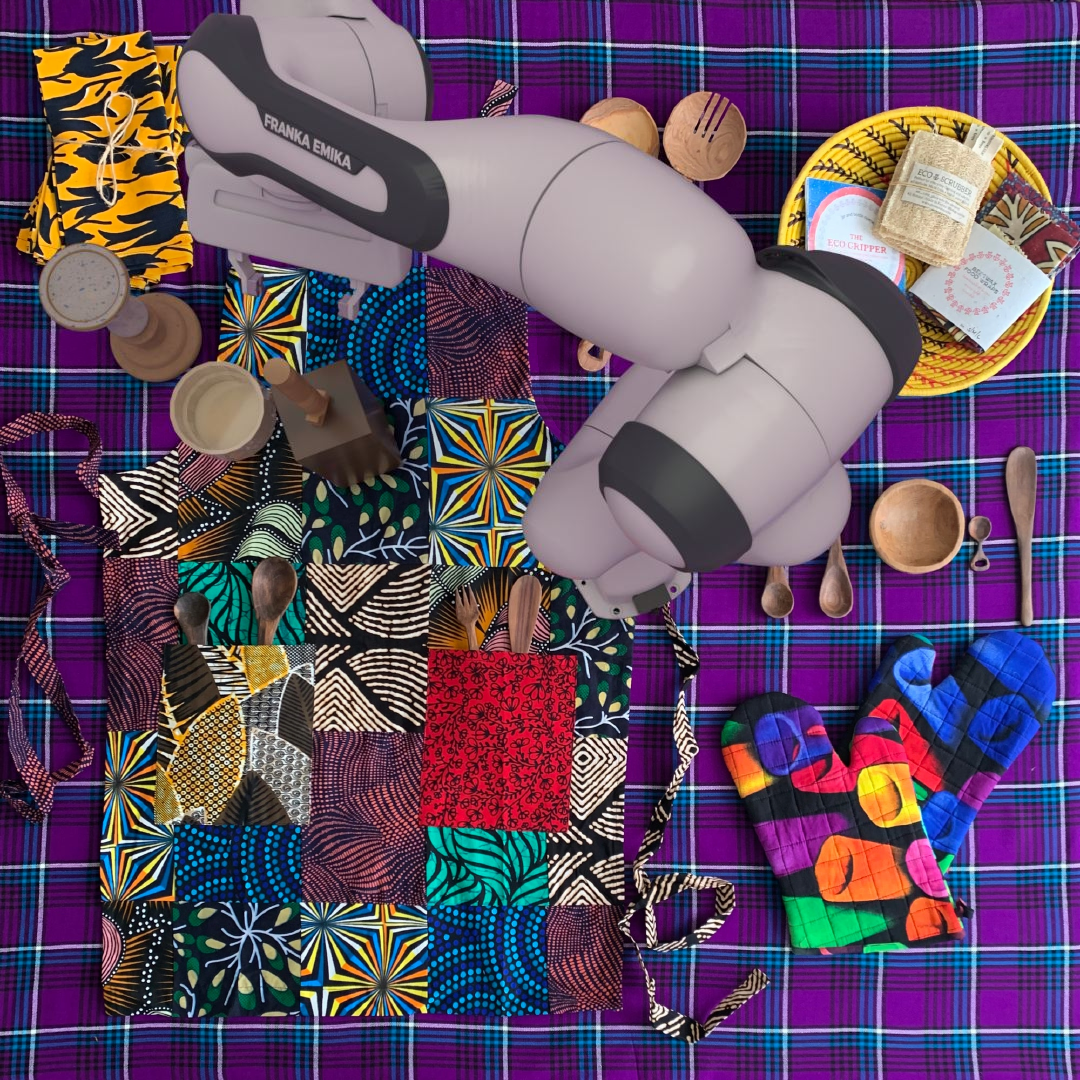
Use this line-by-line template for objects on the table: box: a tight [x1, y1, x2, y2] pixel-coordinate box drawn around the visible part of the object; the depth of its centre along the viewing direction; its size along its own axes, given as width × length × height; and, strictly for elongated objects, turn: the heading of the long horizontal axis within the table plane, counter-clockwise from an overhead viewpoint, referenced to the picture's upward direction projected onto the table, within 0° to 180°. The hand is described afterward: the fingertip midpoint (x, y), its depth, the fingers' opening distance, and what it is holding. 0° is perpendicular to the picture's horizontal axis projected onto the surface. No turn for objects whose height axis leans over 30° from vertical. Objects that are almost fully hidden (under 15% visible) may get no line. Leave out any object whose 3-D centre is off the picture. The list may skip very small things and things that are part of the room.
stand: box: [268, 358, 405, 490], centre depth 112 cm, size 9×9×22 cm
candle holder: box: [38, 242, 203, 383], centre depth 114 cm, size 12×12×20 cm
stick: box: [262, 357, 330, 426], centre depth 93 cm, size 4×3×16 cm
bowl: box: [169, 360, 277, 462], centre depth 120 cm, size 12×12×6 cm
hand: (300, 305), depth 87 cm, fingers open, 8 cm apart
